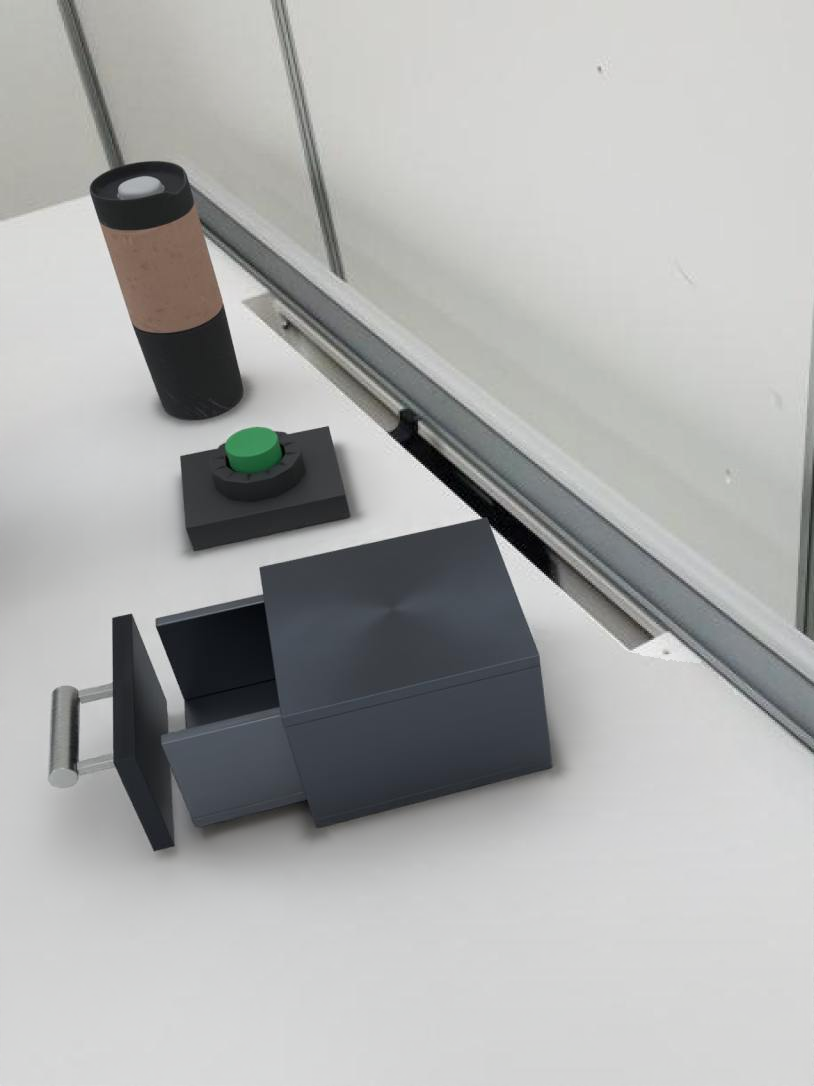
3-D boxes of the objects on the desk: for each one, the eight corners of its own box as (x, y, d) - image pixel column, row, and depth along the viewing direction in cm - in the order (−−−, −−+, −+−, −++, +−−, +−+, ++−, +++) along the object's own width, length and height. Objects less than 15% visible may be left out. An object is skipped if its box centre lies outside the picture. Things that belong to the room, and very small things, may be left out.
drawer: (75, 872, 73) (28, 783, 68) (78, 722, 82) (37, 634, 77) (383, 793, 77) (360, 702, 71) (353, 657, 86) (331, 568, 80)
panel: (193, 551, 97) (179, 509, 94) (187, 477, 104) (173, 437, 101) (350, 517, 99) (341, 475, 96) (333, 447, 106) (324, 406, 103)
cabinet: (316, 828, 76) (281, 717, 70) (291, 676, 86) (258, 566, 79) (552, 767, 79) (539, 655, 72) (502, 626, 88) (487, 516, 82)
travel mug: (151, 390, 114) (78, 174, 101) (234, 366, 117) (174, 152, 104) (170, 431, 109) (97, 209, 96) (257, 405, 112) (197, 185, 98)
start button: (232, 479, 97) (226, 460, 96) (228, 451, 100) (223, 432, 99) (284, 468, 98) (279, 449, 97) (279, 440, 101) (274, 422, 100)
